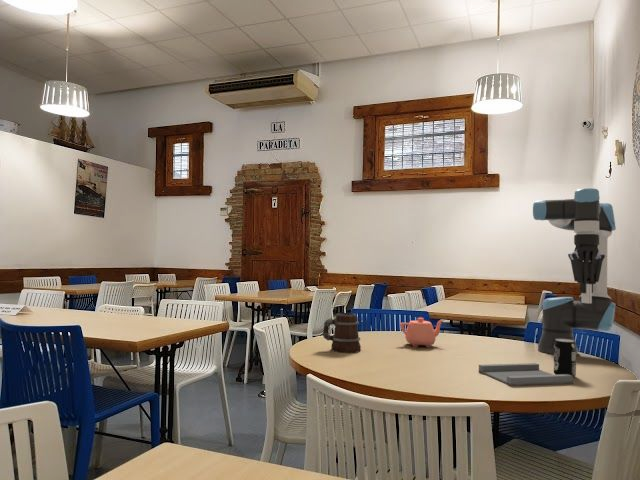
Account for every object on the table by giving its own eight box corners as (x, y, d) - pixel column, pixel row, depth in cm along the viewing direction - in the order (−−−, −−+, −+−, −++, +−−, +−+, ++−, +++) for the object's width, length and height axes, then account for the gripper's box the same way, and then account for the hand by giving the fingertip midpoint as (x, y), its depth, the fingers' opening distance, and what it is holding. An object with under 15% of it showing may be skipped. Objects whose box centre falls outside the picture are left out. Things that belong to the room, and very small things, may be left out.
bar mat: (535, 370, 167) (535, 363, 167) (572, 383, 150) (572, 375, 150) (478, 371, 162) (478, 364, 163) (510, 385, 145) (510, 377, 145)
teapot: (448, 348, 204) (449, 320, 205) (402, 348, 204) (403, 319, 204) (439, 343, 218) (439, 316, 218) (396, 342, 217) (396, 315, 217)
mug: (356, 347, 202) (357, 312, 203) (362, 353, 190) (363, 315, 191) (320, 347, 200) (320, 311, 201) (324, 353, 188) (324, 315, 189)
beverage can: (549, 373, 162) (549, 338, 163) (568, 373, 163) (568, 338, 163) (561, 378, 156) (561, 341, 156) (580, 378, 156) (580, 341, 157)
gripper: (594, 235, 168) (594, 302, 167) (562, 233, 165) (561, 301, 164) (611, 234, 161) (611, 304, 160) (578, 232, 158) (577, 304, 157)
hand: (586, 302), depth 162 cm, fingers closed
